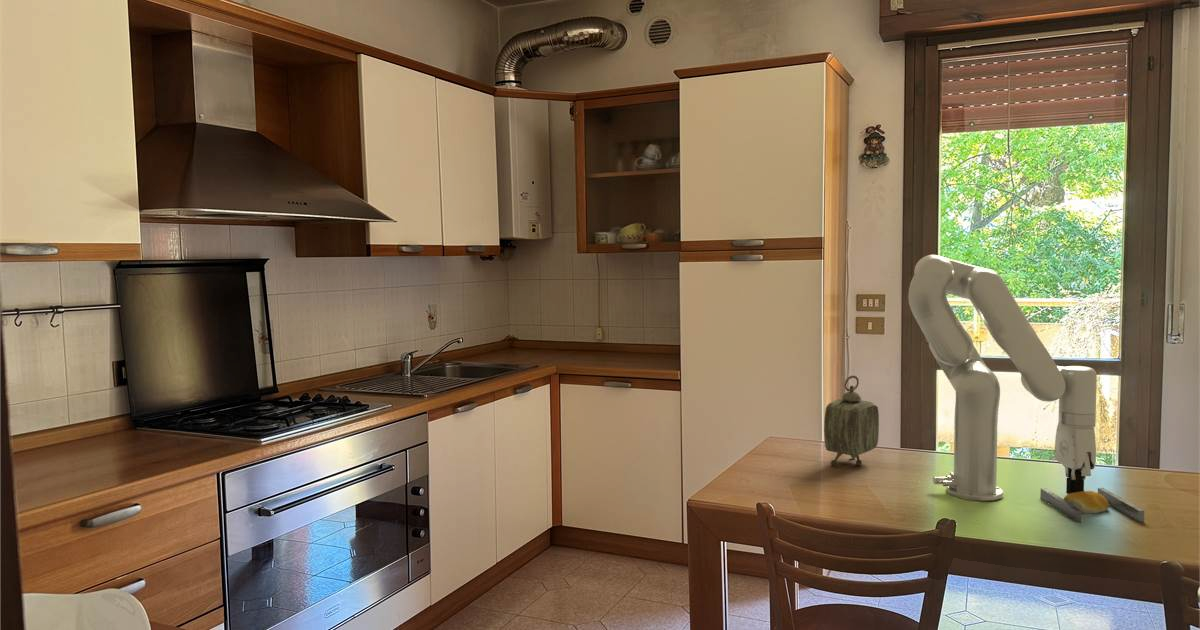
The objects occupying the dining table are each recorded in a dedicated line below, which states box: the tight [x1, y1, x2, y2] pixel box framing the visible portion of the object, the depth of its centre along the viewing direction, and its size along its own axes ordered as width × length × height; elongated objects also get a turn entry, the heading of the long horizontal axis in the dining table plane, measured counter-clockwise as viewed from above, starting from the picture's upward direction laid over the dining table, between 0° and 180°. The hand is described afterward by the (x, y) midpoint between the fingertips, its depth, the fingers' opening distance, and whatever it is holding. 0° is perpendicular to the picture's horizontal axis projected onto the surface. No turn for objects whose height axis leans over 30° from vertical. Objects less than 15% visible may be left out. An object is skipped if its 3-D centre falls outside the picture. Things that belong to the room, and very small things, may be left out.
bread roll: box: [1063, 490, 1110, 515], centre depth 185 cm, size 8×9×4 cm
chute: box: [1039, 487, 1145, 523], centre depth 183 cm, size 14×16×2 cm
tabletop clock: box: [823, 375, 880, 467], centre depth 223 cm, size 14×9×25 cm, turn 133°
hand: (1074, 494), depth 190 cm, fingers closed
